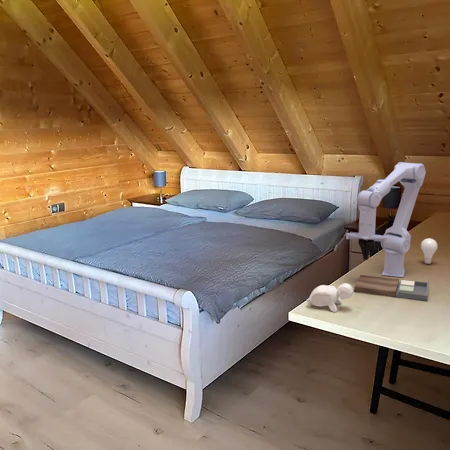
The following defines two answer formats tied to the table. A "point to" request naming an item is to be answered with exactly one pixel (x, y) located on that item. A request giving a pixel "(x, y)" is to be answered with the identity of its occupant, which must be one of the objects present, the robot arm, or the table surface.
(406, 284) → the tile cream
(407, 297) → the box
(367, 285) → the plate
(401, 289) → the tile green
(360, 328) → the table surface
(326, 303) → the white turtle figurine
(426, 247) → the lightbulb
